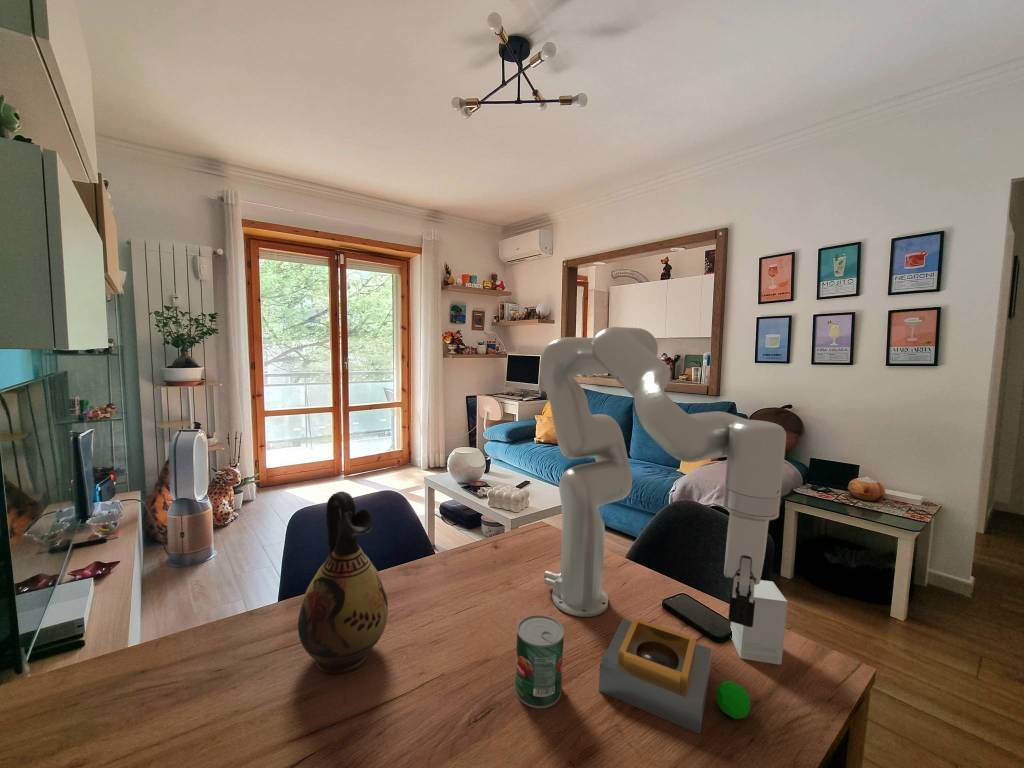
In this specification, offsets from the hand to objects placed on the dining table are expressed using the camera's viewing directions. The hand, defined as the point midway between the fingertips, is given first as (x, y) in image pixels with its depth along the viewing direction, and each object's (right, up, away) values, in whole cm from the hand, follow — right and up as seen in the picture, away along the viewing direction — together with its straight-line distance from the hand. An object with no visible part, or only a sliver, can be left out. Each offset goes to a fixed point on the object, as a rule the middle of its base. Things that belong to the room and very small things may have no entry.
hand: (741, 606), depth 70 cm
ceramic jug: (-68, -15, +13) cm, 70 cm away
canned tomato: (-32, -17, +6) cm, 36 cm away
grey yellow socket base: (-10, -17, +9) cm, 22 cm away
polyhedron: (-1, -19, +2) cm, 19 cm away
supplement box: (+11, -17, +17) cm, 27 cm away
